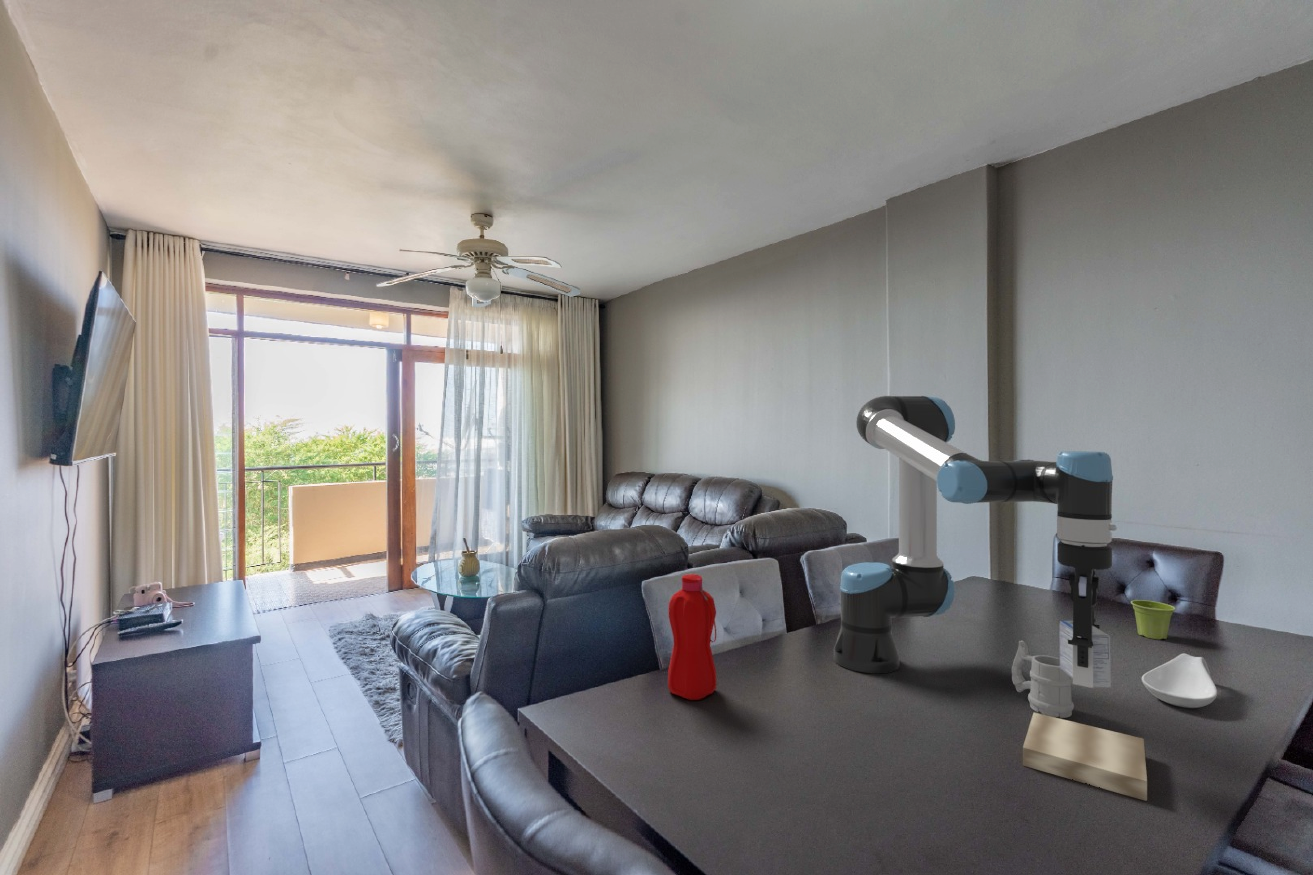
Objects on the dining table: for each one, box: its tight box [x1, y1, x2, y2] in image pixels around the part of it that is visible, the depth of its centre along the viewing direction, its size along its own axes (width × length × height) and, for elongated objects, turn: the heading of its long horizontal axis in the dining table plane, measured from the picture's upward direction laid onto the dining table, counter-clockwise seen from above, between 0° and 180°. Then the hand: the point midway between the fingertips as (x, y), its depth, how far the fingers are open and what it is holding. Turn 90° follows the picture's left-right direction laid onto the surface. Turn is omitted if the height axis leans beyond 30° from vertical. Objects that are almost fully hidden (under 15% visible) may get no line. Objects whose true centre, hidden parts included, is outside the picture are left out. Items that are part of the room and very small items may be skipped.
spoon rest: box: [1141, 652, 1218, 709], centre depth 127 cm, size 24×12×7 cm, turn 129°
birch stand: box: [1022, 712, 1148, 802], centre depth 101 cm, size 16×16×3 cm
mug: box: [1011, 640, 1075, 719], centre depth 122 cm, size 8×12×12 cm, turn 25°
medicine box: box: [1058, 620, 1112, 689], centre depth 101 cm, size 8×4×9 cm, turn 168°
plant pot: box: [1130, 599, 1176, 640], centre depth 164 cm, size 9×9×9 cm
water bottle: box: [667, 573, 717, 701], centre depth 128 cm, size 9×11×25 cm
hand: (1084, 675), depth 101 cm, fingers closed on medicine box, 9 cm apart
